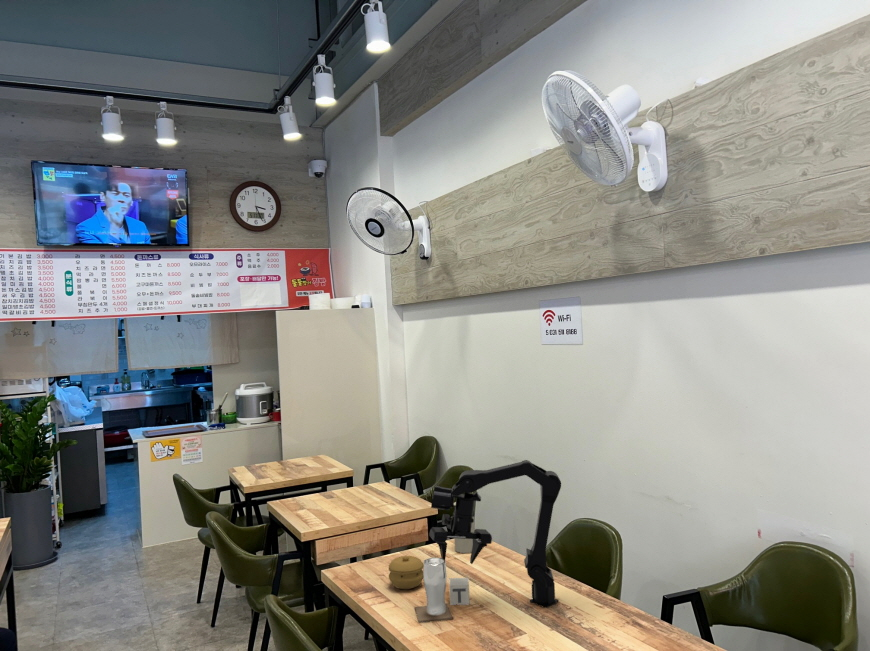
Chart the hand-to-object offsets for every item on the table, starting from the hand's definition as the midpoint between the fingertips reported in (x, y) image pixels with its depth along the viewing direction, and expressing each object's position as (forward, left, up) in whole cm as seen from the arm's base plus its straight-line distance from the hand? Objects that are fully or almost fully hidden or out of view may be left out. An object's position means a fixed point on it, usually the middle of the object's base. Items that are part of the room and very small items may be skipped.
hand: (457, 563), depth 199 cm
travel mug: (+34, -35, -12) cm, 51 cm away
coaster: (-1, +11, -12) cm, 16 cm away
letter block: (+1, -1, -12) cm, 12 cm away
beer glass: (-1, +10, -12) cm, 16 cm away
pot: (+22, +3, -12) cm, 26 cm away
